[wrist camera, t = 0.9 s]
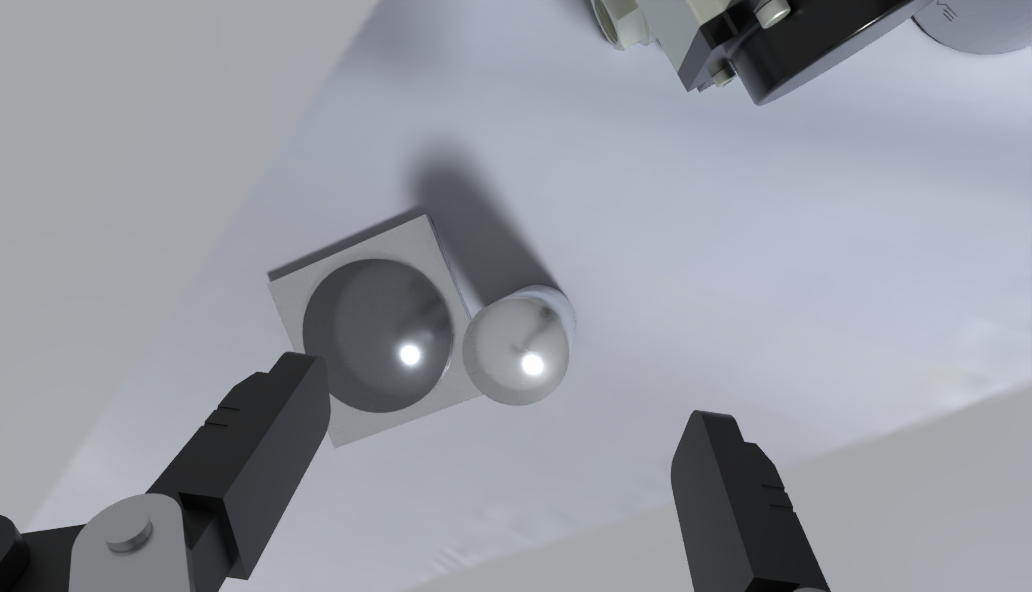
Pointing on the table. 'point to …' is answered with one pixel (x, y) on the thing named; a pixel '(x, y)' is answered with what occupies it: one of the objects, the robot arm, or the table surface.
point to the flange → (381, 329)
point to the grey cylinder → (520, 345)
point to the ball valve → (752, 37)
